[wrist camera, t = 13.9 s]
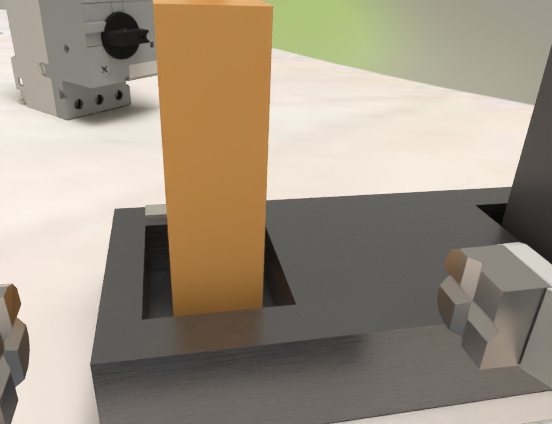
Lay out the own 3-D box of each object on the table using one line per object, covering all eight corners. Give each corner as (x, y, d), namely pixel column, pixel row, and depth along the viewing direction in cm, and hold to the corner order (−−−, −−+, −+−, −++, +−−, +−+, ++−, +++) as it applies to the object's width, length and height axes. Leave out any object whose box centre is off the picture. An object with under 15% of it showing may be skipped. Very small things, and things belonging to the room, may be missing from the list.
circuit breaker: (109, 134, 44) (87, -59, 37) (19, 103, 52) (-13, -64, 45) (172, 116, 50) (162, -55, 43) (83, 91, 57) (62, -60, 50)
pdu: (543, 245, 30) (564, 180, 28) (700, 367, 21) (747, 285, 19) (123, 280, 25) (114, 205, 23) (105, 456, 16) (89, 359, 14)
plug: (243, 277, 23) (248, -87, 17) (261, 343, 19) (276, -96, 13) (172, 283, 22) (148, -93, 16) (176, 352, 19) (146, -105, 12)
